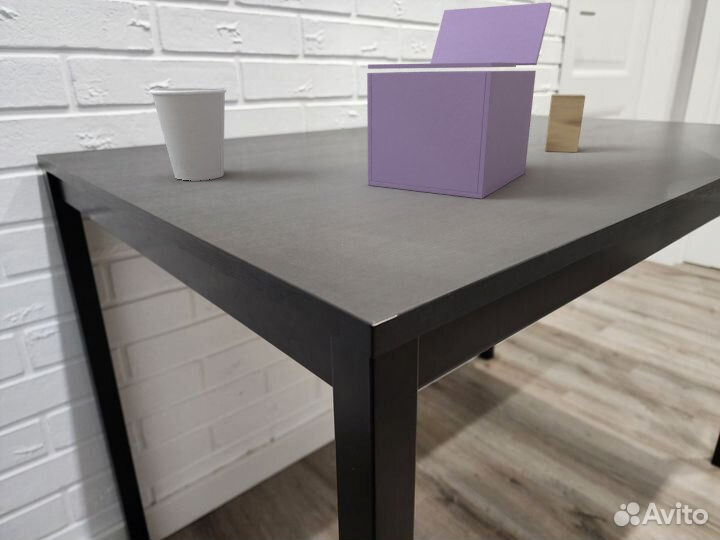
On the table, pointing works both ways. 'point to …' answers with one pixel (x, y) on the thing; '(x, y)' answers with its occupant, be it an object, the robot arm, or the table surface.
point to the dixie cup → (193, 130)
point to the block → (564, 122)
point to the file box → (448, 128)
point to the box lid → (492, 34)
